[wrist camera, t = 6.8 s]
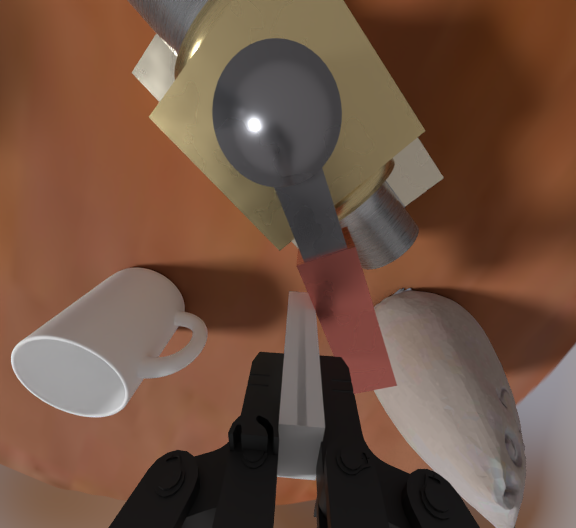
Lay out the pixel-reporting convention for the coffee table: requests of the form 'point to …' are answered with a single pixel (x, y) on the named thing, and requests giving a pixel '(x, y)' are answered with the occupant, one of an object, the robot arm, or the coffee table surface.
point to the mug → (108, 344)
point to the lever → (302, 186)
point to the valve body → (354, 100)
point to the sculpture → (454, 401)
